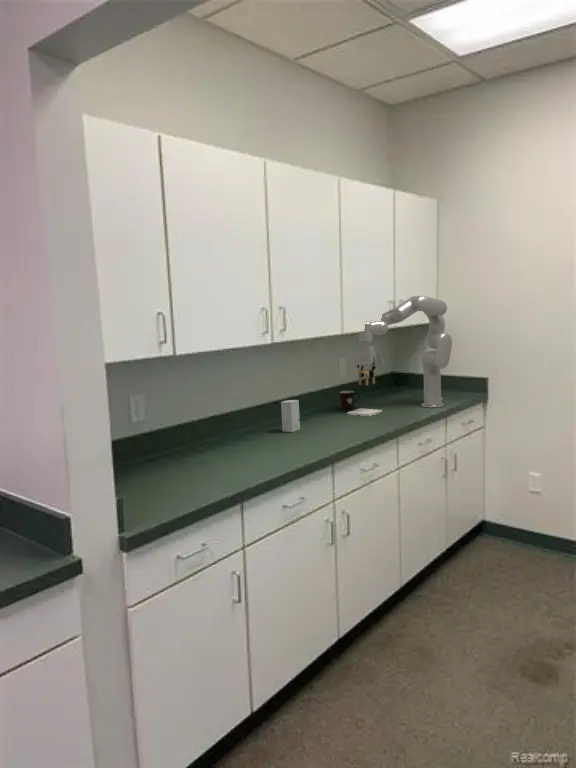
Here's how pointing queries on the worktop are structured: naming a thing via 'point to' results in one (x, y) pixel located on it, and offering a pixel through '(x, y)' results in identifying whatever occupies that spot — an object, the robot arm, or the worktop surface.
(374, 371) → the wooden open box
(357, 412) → the white board
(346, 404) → the coffee mug
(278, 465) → the worktop surface
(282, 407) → the skincare box
